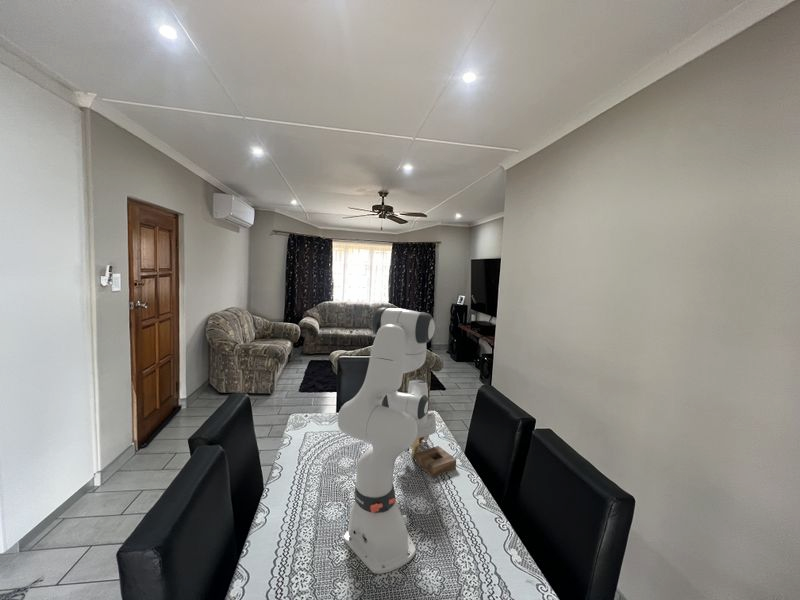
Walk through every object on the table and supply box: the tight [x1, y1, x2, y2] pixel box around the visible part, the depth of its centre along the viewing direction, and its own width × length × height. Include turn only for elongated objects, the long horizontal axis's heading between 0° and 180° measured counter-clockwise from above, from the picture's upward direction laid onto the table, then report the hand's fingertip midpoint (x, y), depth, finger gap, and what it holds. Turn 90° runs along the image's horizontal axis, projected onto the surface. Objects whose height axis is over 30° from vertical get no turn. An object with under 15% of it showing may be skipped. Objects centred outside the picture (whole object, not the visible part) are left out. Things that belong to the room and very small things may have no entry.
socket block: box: [414, 445, 457, 478], centre depth 136 cm, size 12×12×4 cm
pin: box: [411, 439, 420, 460], centre depth 142 cm, size 3×3×10 cm
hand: (415, 447), depth 142 cm, fingers open, 8 cm apart
